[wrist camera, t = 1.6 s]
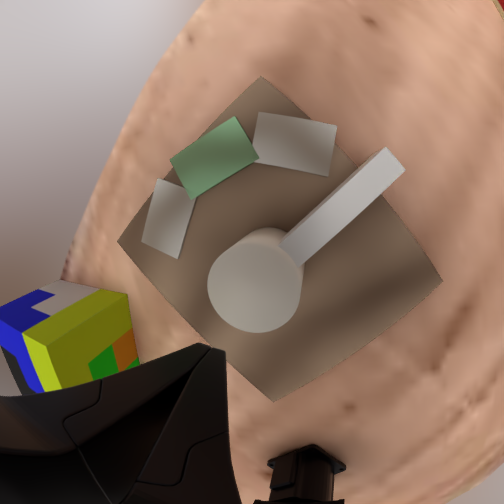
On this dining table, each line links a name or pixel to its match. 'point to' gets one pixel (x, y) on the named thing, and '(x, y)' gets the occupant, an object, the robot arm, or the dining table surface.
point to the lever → (290, 252)
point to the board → (281, 217)
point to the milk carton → (500, 6)
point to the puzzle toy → (66, 336)
